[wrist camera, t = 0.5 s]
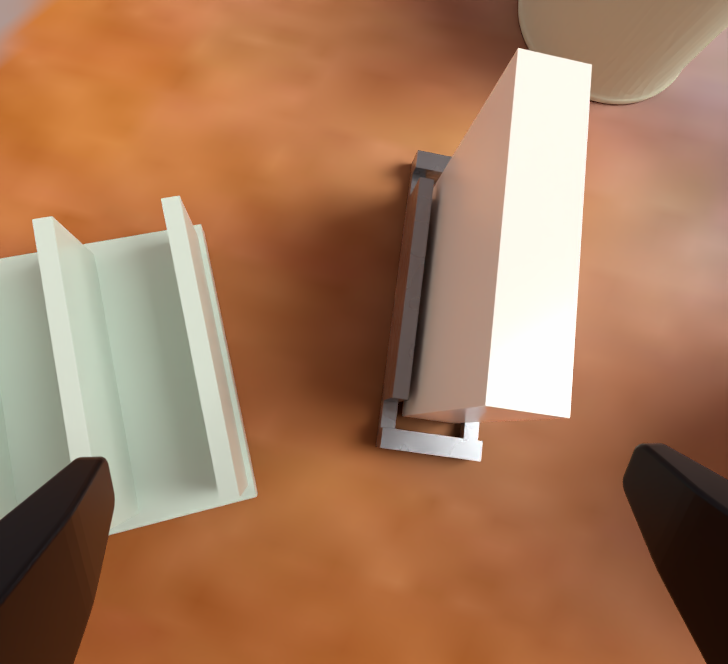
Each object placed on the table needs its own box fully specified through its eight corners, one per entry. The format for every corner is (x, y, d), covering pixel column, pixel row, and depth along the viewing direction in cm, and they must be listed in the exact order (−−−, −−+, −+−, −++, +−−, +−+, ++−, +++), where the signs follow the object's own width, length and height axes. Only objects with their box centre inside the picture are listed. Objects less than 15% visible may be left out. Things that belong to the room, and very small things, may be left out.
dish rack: (257, 493, 22) (249, 512, 17) (13, 557, 20) (-73, 596, 15) (204, 232, 23) (182, 180, 19) (-27, 272, 22) (-117, 227, 17)
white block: (452, 423, 24) (569, 418, 14) (401, 416, 23) (485, 405, 14) (474, 204, 25) (592, 64, 16) (428, 195, 25) (517, 48, 15)
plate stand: (471, 459, 23) (492, 463, 21) (375, 446, 23) (386, 448, 20) (497, 179, 26) (519, 153, 23) (411, 163, 25) (425, 134, 23)
